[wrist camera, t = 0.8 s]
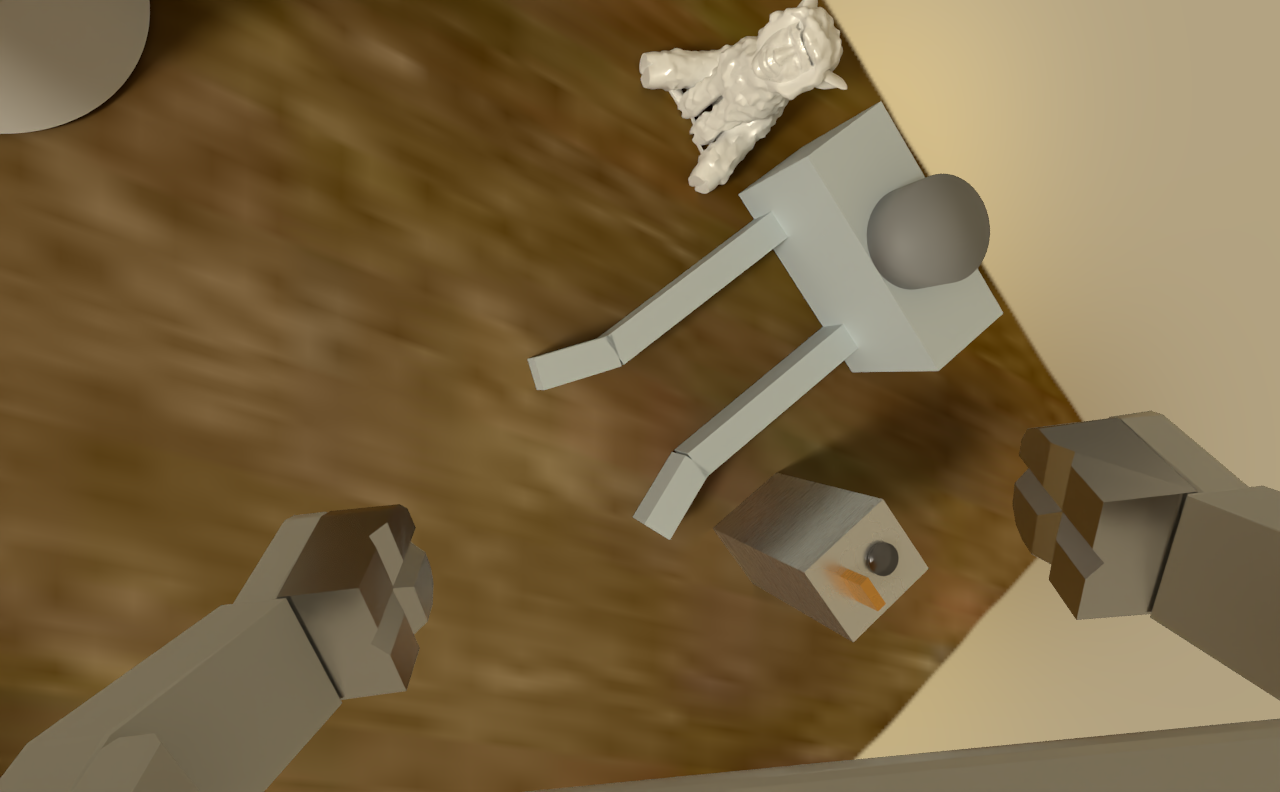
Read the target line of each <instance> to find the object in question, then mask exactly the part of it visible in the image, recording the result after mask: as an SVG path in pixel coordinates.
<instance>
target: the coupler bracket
mask: <svg viewBox="0 0 1280 792" xmlns="http://www.w3.org/2000/svg"><path fill="white" fill-rule="evenodd" d="M738 195H739V196H740V198H741V199H742V201H743V203H744V204H745V206H746V207H747V209H748V210H749V212H750V213H751V215H752V217H753V218H754V220H753V221H751V222H750V223H749V224H747V225H746V226H745V227H743V228H742V229H741V230H740V231H738V232H737V233H736V234H734V235H733V236H732V237H730V238H729V239H728V240H726V241H725V242H724V243H722V244H721V245H720V246H718V247H717V248H716V249H714V250H713V251H712V252H710V253H709V254H708V255H706V256H705V257H704V258H703V259H701V260H700V261H699V262H697V263H696V264H695V265H693V266H692V267H691V268H689V269H688V270H687V271H685V272H684V273H683V274H681V275H680V276H679V277H677V278H676V279H675V280H673V281H672V282H671V283H670V284H668V285H667V286H666V287H664V288H663V289H662V290H660V291H659V292H658V293H656V294H655V295H654V296H652V297H651V298H650V299H648V300H647V301H646V302H644V303H643V304H642V305H640V306H639V307H638V308H636V309H635V310H634V311H633V312H631V313H630V314H629V315H627V316H626V317H625V318H623V319H622V320H621V321H619V322H618V323H617V324H615V325H614V326H613V327H611V328H610V329H609V330H607V331H606V332H605V333H603V334H602V335H601V336H600V337H598V338H597V339H593V340H590V341H586V342H583V343H580V344H576V345H573V346H569V347H566V348H563V349H559V350H556V351H553V352H549V353H546V354H542V355H539V356H536V357H532V358H529V359H528V362H529V366H530V369H531V372H532V376H533V379H534V382H535V385H536V389H537V390H546V389H550V388H553V387H556V386H559V385H563V384H566V383H569V382H572V381H576V380H579V379H582V378H585V377H588V376H592V375H595V374H598V373H601V372H605V371H608V370H611V369H614V368H617V367H621V365H622V364H625V363H627V362H628V361H629V360H630V359H632V358H633V357H634V356H636V355H637V354H638V353H639V352H641V351H642V350H643V349H645V348H646V347H647V346H648V345H650V344H651V343H652V342H654V341H655V340H656V339H657V338H659V337H660V336H661V335H663V334H664V333H665V332H666V331H668V330H669V329H670V328H672V327H673V326H674V325H675V324H677V323H678V322H679V321H681V320H682V319H683V318H685V317H686V316H687V315H688V314H690V313H691V312H692V311H694V310H695V309H696V308H697V307H699V306H700V305H701V304H703V303H704V302H705V301H706V300H708V299H709V298H710V297H712V296H713V295H714V294H715V293H717V292H718V291H719V290H721V289H722V288H723V287H724V286H726V285H727V284H728V283H730V282H731V281H732V280H733V279H735V278H736V277H737V276H739V275H740V274H741V273H743V272H744V271H745V270H746V269H748V268H749V267H750V266H752V265H753V264H754V263H755V262H757V261H758V260H759V259H761V258H762V257H763V256H764V255H766V254H767V253H768V252H770V251H771V250H772V249H774V251H775V252H776V254H777V256H778V257H779V259H780V260H781V262H782V263H783V265H784V267H785V268H786V270H787V271H788V273H789V274H790V276H791V277H792V279H793V281H794V282H795V284H796V285H797V287H798V288H799V290H800V292H801V293H802V295H803V296H804V298H805V299H806V301H807V302H808V304H809V306H810V307H811V309H812V310H813V312H814V313H815V315H816V317H817V318H818V320H819V321H820V323H821V324H822V326H823V327H822V328H821V329H820V330H819V331H817V332H816V333H815V334H814V335H813V336H811V337H810V338H809V339H808V340H806V341H805V342H804V343H803V344H802V345H800V346H799V347H798V348H797V349H796V350H794V351H793V352H792V353H791V354H790V355H788V356H787V357H786V358H785V359H784V360H782V361H781V362H780V363H779V364H777V365H776V366H775V367H774V368H773V369H771V370H770V371H769V372H768V373H767V374H765V375H764V376H763V377H762V378H761V379H759V380H758V381H757V382H756V383H755V384H753V385H752V386H751V387H750V388H748V389H747V390H746V391H745V392H744V393H742V394H741V395H740V396H739V397H738V398H736V399H735V400H734V401H733V402H732V403H730V404H729V405H728V406H727V407H725V408H724V409H723V410H722V411H721V412H719V413H718V414H717V415H716V416H715V417H713V418H712V419H711V420H710V421H709V422H707V423H706V424H705V425H704V426H703V427H701V428H700V429H699V430H698V431H696V432H695V433H694V434H693V435H692V436H690V437H689V438H688V439H687V440H686V441H684V442H683V443H682V444H681V445H680V446H678V447H677V448H676V449H675V452H676V453H674V452H672V453H671V454H670V456H669V458H668V459H667V461H666V463H665V464H664V466H663V468H662V469H661V471H660V473H659V474H658V476H657V478H656V479H655V481H654V482H653V484H652V486H651V487H650V489H649V491H648V492H647V494H646V496H645V497H644V499H643V501H642V502H641V504H640V506H639V507H638V509H637V511H636V512H635V514H634V516H633V518H635V519H636V520H638V521H640V522H641V523H643V524H644V525H646V526H648V527H649V528H651V529H653V530H654V531H656V532H657V533H659V534H661V535H662V536H664V537H666V538H667V539H669V540H670V539H671V537H672V535H673V534H674V532H675V530H676V529H677V527H678V525H679V524H680V522H681V520H682V519H683V517H684V515H685V514H686V512H687V510H688V508H689V507H690V505H691V503H692V502H693V500H694V498H695V497H696V495H697V493H698V492H699V490H700V488H701V487H702V485H703V483H704V481H705V480H706V478H707V476H709V475H710V474H711V473H712V472H713V471H714V470H716V469H717V468H718V467H719V466H720V465H722V464H723V463H724V462H725V461H726V460H727V459H729V458H730V457H731V456H732V455H733V454H734V453H736V452H737V451H738V450H739V449H740V448H742V447H743V446H744V445H745V444H746V443H747V442H749V441H750V440H751V439H752V438H753V437H754V436H756V435H757V434H758V433H759V432H760V431H762V430H763V429H764V428H765V427H766V426H767V425H769V424H770V423H771V422H772V421H773V420H774V419H776V418H777V417H778V416H779V415H780V414H782V413H783V412H784V411H785V410H786V409H787V408H789V407H790V406H791V405H792V404H793V403H794V402H796V401H797V400H798V399H799V398H800V397H802V396H803V395H804V394H805V393H806V392H807V391H809V390H810V389H811V388H812V387H813V386H814V385H816V384H817V383H818V382H819V381H820V380H822V379H823V378H824V377H825V376H826V375H827V374H829V373H830V372H831V371H832V370H833V369H834V368H836V367H837V366H838V365H839V364H840V363H842V362H843V361H844V360H845V362H846V363H847V365H848V367H849V368H850V370H851V371H852V372H898V371H939V370H940V369H941V368H942V367H944V366H945V365H946V364H947V363H948V362H949V361H950V360H951V359H952V358H954V357H955V356H956V355H957V354H958V353H959V352H960V351H961V350H963V349H964V348H965V347H966V346H967V345H968V344H969V343H970V342H972V341H973V340H974V339H975V338H976V337H977V336H978V335H979V334H981V333H982V332H983V331H984V330H985V329H986V328H987V327H988V326H989V325H991V324H992V323H993V322H994V321H995V320H996V319H997V318H998V317H1000V316H1001V315H1002V314H1003V312H1002V310H1001V308H1000V306H999V305H998V303H997V301H996V299H995V298H994V296H993V294H992V293H991V291H990V289H989V287H988V286H987V284H986V282H985V280H984V279H983V277H982V275H981V273H980V272H979V270H978V267H979V265H980V264H981V262H982V261H983V259H984V257H985V254H986V252H987V248H988V244H989V237H990V225H989V218H988V214H987V211H986V208H985V205H984V203H983V201H982V200H981V198H980V196H979V195H978V193H977V192H976V191H975V190H974V188H973V187H972V186H971V185H970V184H968V183H967V182H966V181H964V180H962V179H961V178H959V177H956V176H954V175H949V174H936V175H932V176H929V177H926V178H925V176H924V175H923V173H922V171H921V170H920V168H919V166H918V164H917V163H916V161H915V159H914V157H913V156H912V154H911V152H910V150H909V149H908V147H907V145H906V144H905V142H904V140H903V138H902V137H901V135H900V133H899V131H898V130H897V128H896V126H895V125H894V123H893V121H892V119H891V118H890V116H889V114H888V112H887V111H886V109H885V107H884V105H883V104H882V102H879V103H877V104H875V105H874V106H872V107H870V108H869V109H867V110H865V111H863V112H862V113H860V114H858V115H857V116H855V117H853V118H851V119H850V120H848V121H846V122H844V123H843V124H841V125H839V126H838V127H836V128H834V129H832V130H831V131H829V132H827V133H826V134H824V135H822V136H820V137H819V138H817V139H815V140H814V141H812V142H810V143H808V144H807V145H805V146H803V147H802V148H800V149H799V150H798V151H796V152H795V153H793V154H792V155H791V156H789V157H788V158H787V159H785V160H784V161H783V162H781V163H780V164H779V165H777V166H776V167H775V168H773V169H772V170H771V171H769V172H768V173H766V174H765V175H764V176H762V177H761V178H760V179H758V180H757V181H756V182H754V183H753V184H752V185H750V186H749V187H748V188H746V189H745V190H744V191H742V192H741V193H740V194H738Z"/></svg>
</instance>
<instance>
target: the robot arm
mask: <svg viewBox="0 0 1280 792" xmlns="http://www.w3.org/2000/svg"><path fill="white" fill-rule="evenodd" d="M149 20H150V1H149V0H0V134H13V133H25V132H33V131H39V130H44V129H48V128H52V127H56V126H59V125H62V124H65V123H68V122H70V121H72V120H75V119H77V118H79V117H81V116H83V115H85V114H87V113H89V112H90V111H92V110H94V109H95V108H97V107H98V106H100V105H101V104H102V103H104V102H105V101H106V100H108V99H109V98H110V97H111V96H112V95H113V94H114V93H115V92H116V91H117V90H118V89H119V88H120V87H121V86H122V85H123V84H124V83H125V81H126V80H127V79H128V77H129V76H130V74H131V73H132V72H133V70H134V68H135V66H136V65H137V63H138V61H139V59H140V56H141V54H142V52H143V49H144V46H145V43H146V39H147V35H148V29H149ZM1019 456H1020V458H1021V459H1022V460H1023V461H1024V463H1025V464H1026V465H1027V467H1028V470H1027V471H1026V472H1025V473H1024V474H1023V475H1022V476H1021V477H1020V478H1019V479H1018V480H1017V481H1016V482H1015V485H1014V495H1013V510H1014V516H1015V522H1016V526H1017V528H1018V531H1019V533H1020V536H1021V538H1022V540H1023V542H1024V543H1025V545H1026V546H1027V548H1028V549H1029V551H1030V552H1031V554H1033V555H1034V556H1036V557H1038V558H1040V559H1042V560H1044V561H1046V562H1048V563H1049V564H1051V570H1050V575H1049V581H1050V582H1051V583H1052V585H1053V586H1054V588H1055V589H1056V591H1057V592H1058V594H1059V595H1060V597H1061V598H1062V599H1063V601H1064V602H1065V604H1066V605H1067V607H1068V608H1069V610H1070V611H1071V612H1072V614H1073V615H1074V617H1075V618H1076V620H1081V619H1093V618H1106V617H1117V616H1131V615H1142V614H1151V616H1150V617H1151V618H1152V619H1154V620H1155V621H1157V622H1158V623H1160V624H1162V625H1163V626H1165V627H1166V628H1168V629H1169V630H1171V631H1172V632H1174V633H1175V634H1177V635H1179V636H1180V637H1182V638H1183V639H1185V640H1187V641H1188V642H1189V643H1191V644H1193V645H1194V646H1196V647H1197V648H1199V649H1200V650H1202V651H1203V652H1205V653H1207V654H1208V655H1210V656H1211V657H1213V658H1214V659H1216V660H1218V661H1219V662H1221V663H1222V664H1224V665H1225V666H1227V667H1228V668H1230V669H1231V670H1233V671H1235V672H1236V673H1238V674H1239V675H1241V676H1242V677H1244V678H1245V679H1247V680H1249V681H1250V682H1252V683H1253V684H1255V685H1257V686H1258V687H1260V688H1261V689H1263V690H1264V691H1266V692H1267V693H1269V694H1271V695H1272V696H1274V697H1275V698H1277V699H1278V700H1280V492H1279V491H1277V490H1274V489H1271V488H1268V487H1265V486H1256V487H1248V486H1247V485H1246V484H1245V483H1243V482H1242V481H1241V480H1240V479H1239V478H1237V477H1236V476H1235V475H1234V474H1233V473H1232V472H1230V471H1229V470H1228V469H1227V468H1226V467H1225V466H1223V465H1222V464H1221V463H1220V462H1219V461H1217V460H1216V459H1215V458H1214V457H1213V456H1211V455H1210V454H1209V453H1208V452H1207V451H1206V450H1204V449H1203V448H1202V447H1201V446H1200V445H1198V444H1197V443H1196V442H1195V441H1194V440H1192V439H1191V438H1190V437H1189V436H1188V435H1186V434H1185V433H1184V432H1183V431H1182V430H1181V429H1179V428H1178V427H1177V426H1176V425H1175V424H1173V423H1172V422H1171V421H1170V420H1169V419H1168V418H1166V417H1165V416H1164V415H1162V414H1160V413H1156V412H1153V411H1147V412H1140V413H1133V414H1126V415H1120V416H1113V417H1109V418H1108V419H1100V420H1092V421H1084V422H1077V423H1069V424H1061V425H1053V426H1045V427H1037V428H1029V429H1027V430H1026V432H1025V434H1024V436H1023V438H1022V440H1021V446H1020V452H1019ZM415 528H416V527H415V525H414V523H413V520H412V518H411V516H410V513H409V511H408V509H407V508H405V507H403V506H402V505H400V504H398V505H388V506H377V507H367V508H357V509H347V510H337V511H330V512H320V513H311V514H303V515H294V516H292V517H290V518H288V519H286V520H285V521H284V522H283V524H282V525H281V527H280V529H279V530H278V532H277V534H276V535H275V537H274V538H273V540H272V542H271V543H270V545H269V546H268V548H267V550H266V551H265V553H264V555H263V556H262V558H261V559H260V561H259V563H258V564H257V566H256V568H255V569H254V571H253V572H252V574H251V576H250V577H249V579H248V580H247V582H246V584H245V585H244V587H243V589H242V590H241V592H240V593H239V595H238V597H237V598H236V600H235V601H234V603H233V604H229V605H221V606H220V607H218V608H217V609H215V610H214V611H213V612H211V613H210V614H208V615H207V616H206V617H204V618H203V619H201V620H200V621H199V622H197V623H196V624H194V625H193V626H192V627H190V628H189V629H187V630H186V631H185V632H183V633H182V634H180V635H179V636H178V637H176V638H175V639H173V640H172V641H170V642H169V643H168V644H166V645H165V646H163V647H162V648H161V649H159V650H158V651H156V652H155V653H154V654H152V655H151V656H149V657H148V658H147V659H145V660H144V661H142V662H141V663H140V664H138V665H137V666H135V667H134V668H133V669H131V670H130V671H128V672H127V673H125V674H124V675H123V676H121V677H120V678H118V679H117V680H116V681H114V682H113V683H111V684H110V685H109V686H107V687H106V688H104V689H103V690H102V691H100V692H99V693H97V694H96V695H95V696H93V697H92V698H90V699H89V700H87V701H86V702H85V703H83V704H82V705H80V706H79V707H78V708H76V709H75V710H73V711H72V712H71V713H69V714H68V715H66V716H65V717H64V718H62V719H61V720H59V721H58V722H57V723H55V724H54V725H52V726H51V727H50V728H48V729H47V730H45V731H44V732H42V733H41V734H40V735H38V736H37V737H35V738H34V739H33V740H31V741H30V742H28V743H27V744H26V746H25V747H24V748H23V749H22V751H21V752H20V753H19V755H18V756H17V757H16V759H15V760H14V761H13V762H12V764H11V765H10V766H9V768H8V769H7V770H6V772H5V773H4V774H3V775H2V777H1V778H0V792H264V791H265V790H266V789H267V788H268V786H269V785H270V784H271V783H272V782H273V781H274V780H275V779H276V777H277V776H278V775H279V774H280V773H281V772H282V771H283V769H284V768H285V767H286V766H287V765H288V764H289V763H290V762H291V760H292V759H293V758H294V757H295V756H296V755H297V754H298V753H299V751H300V750H301V749H302V748H303V747H304V746H305V745H306V743H307V742H308V741H309V740H310V739H311V738H312V737H313V736H314V734H315V733H316V732H317V731H318V730H319V729H320V728H321V726H322V725H323V724H324V723H325V722H326V721H327V720H328V719H329V717H330V716H331V715H332V714H333V713H334V712H335V711H336V710H337V708H338V707H339V706H340V705H341V704H342V701H341V700H342V699H350V698H357V697H365V696H372V695H379V694H387V693H394V692H402V691H406V690H407V687H408V684H409V681H410V677H411V674H412V671H413V668H414V664H415V661H416V658H417V655H418V652H419V646H418V644H417V641H416V639H415V636H414V634H415V633H416V632H417V631H418V630H419V629H420V628H421V627H422V626H423V625H424V624H425V623H426V622H427V621H428V618H429V615H430V611H431V607H432V602H433V578H432V573H431V567H430V564H429V561H428V559H427V556H426V553H425V552H424V551H422V550H421V549H420V548H418V547H417V546H415V545H414V544H413V543H411V539H412V536H413V533H414V531H415ZM527 792H1280V719H1271V720H1261V721H1251V722H1240V723H1230V724H1220V725H1210V726H1199V727H1188V728H1178V729H1168V730H1157V731H1147V732H1137V733H1126V734H1116V735H1106V736H1097V737H1096V736H1095V737H1086V738H1075V739H1064V740H1054V741H1045V742H1044V741H1043V742H1033V743H1023V744H1012V745H1003V746H992V747H982V748H971V749H961V750H951V751H941V752H930V753H919V754H909V755H899V756H888V757H878V758H868V759H857V760H847V761H836V762H826V763H816V764H805V765H795V766H785V767H775V768H764V769H754V770H744V771H733V772H723V773H713V774H702V775H692V776H682V777H671V778H661V779H651V780H640V781H630V782H620V783H609V784H599V785H589V786H578V787H568V788H558V789H547V790H537V791H527Z"/></svg>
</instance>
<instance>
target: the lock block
mask: <svg viewBox="0 0 1280 792" xmlns="http://www.w3.org/2000/svg"><path fill="white" fill-rule="evenodd" d="M713 529H714V531H715V532H716V534H717V535H718V536H719V538H720V539H721V541H722V542H723V543H724V545H725V546H726V547H727V549H728V550H729V552H730V553H731V554H732V556H733V557H734V558H735V560H736V561H737V563H738V564H739V565H740V567H741V568H742V569H743V571H744V572H745V574H746V575H747V576H748V578H749V579H750V580H751V582H752V583H753V584H755V585H756V586H758V587H760V588H761V589H763V590H765V591H767V592H768V593H770V594H772V595H773V596H775V597H777V598H778V599H780V600H782V601H784V602H785V603H787V604H789V605H790V606H792V607H794V608H796V609H797V610H799V611H801V612H802V613H804V614H806V615H808V616H809V617H811V618H813V619H814V620H816V621H818V622H819V623H821V624H823V625H825V626H826V627H828V628H830V629H831V630H833V631H835V632H837V633H838V634H840V635H842V636H843V637H845V638H847V639H849V640H850V641H852V642H854V641H855V640H856V639H857V638H858V637H859V636H860V635H861V634H862V633H863V632H864V631H865V630H866V629H867V628H868V627H869V626H870V625H872V624H873V623H874V622H875V621H876V620H877V619H878V618H879V617H880V616H881V615H882V614H883V613H884V612H885V611H886V610H887V609H888V608H889V607H890V606H891V605H892V604H893V603H894V602H895V601H896V600H897V599H898V598H899V597H900V596H901V595H902V594H903V593H904V592H905V591H906V590H907V589H908V588H909V587H910V586H911V585H912V584H913V583H914V582H915V581H916V580H917V579H918V578H919V577H920V576H921V575H923V574H924V573H925V572H926V571H927V570H928V569H929V568H928V567H927V565H926V564H925V562H924V561H923V559H922V558H921V556H920V555H919V553H918V552H917V550H916V549H915V547H914V546H913V544H912V542H911V541H910V539H909V538H908V536H907V535H906V533H905V532H904V530H903V529H902V527H901V526H900V524H899V523H898V521H897V520H896V518H895V517H894V515H893V514H892V512H891V511H890V509H889V508H888V506H887V505H886V503H885V501H884V500H883V499H880V498H876V497H872V496H868V495H864V494H860V493H856V492H852V491H848V490H844V489H840V488H836V487H832V486H828V485H824V484H820V483H816V482H812V481H808V480H804V479H800V478H796V477H792V476H788V475H784V474H780V473H775V474H774V475H773V476H772V477H771V478H770V479H769V480H767V481H766V482H765V483H764V484H763V485H762V486H761V487H759V488H758V489H757V490H756V491H755V492H754V493H752V494H751V495H750V496H749V497H748V498H747V499H746V500H744V501H743V502H742V503H741V504H740V505H739V506H738V507H736V508H735V509H734V510H733V511H732V512H731V513H730V514H728V515H727V516H726V517H725V518H724V519H723V520H722V521H720V522H719V523H718V524H717V525H716V526H715V527H714V528H713Z"/></svg>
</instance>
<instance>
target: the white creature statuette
mask: <svg viewBox="0 0 1280 792" xmlns="http://www.w3.org/2000/svg"><path fill="white" fill-rule="evenodd" d="M817 4H818V0H802V1H801V3H800V4H799V5H798V6H797V8H786V10H785V11H775V12H773V13H772V14H771V15H770V20H769V23H767V24H766V25H765V27H764V28H761V29H760V30H759V31H758V36H757V37H755V36H752V37H751V36H745V37H744V38H742V39H741V40H740V41H739V42H738V43H736V44H734V45H733V46H730V45H725V46H724V47H723V48H721V49H719V50H711V51H703V50H701V51H699V52H698V51H688V50H682V49H680V48H674V49H672V50H671V51H665V50H664V51H661V52H655V51H653V52H648V53H643V54H642V56H641V59H640V67H639V68H640V73H641V74H642V77H641V79H640V80H641V82H642V85H643V87H644V88H648V89H653V90H654V89H659V88H660V89H664V90H665V91H669V93H670V94H671V96H672V97H673V99H674V101H675V102H676V104H677V105H678V109H679V110H680V111H682V117H683V118H686V119H689V118H691V121H692V123H693V126H692V128H691V130H690V134H694V137H693V139H692V141H693V142H694V143H695V144H696V145H697V147H698V149H699V151H700V153H701V155H700V156H699V158H698V164H697V165H696V167H695V168H694V169H693V171H692V173H691V175H690V177H689V179H688V181H689V185H690V186H696V187H695V191H697V192H700V193H703V194H706V193H709V192H710V191H712V190H714V189H715V188H716V187H717V186H718V185H719V184H721V185H723V184H725V183H726V182H727V181H728V179H729V176H730V175H731V174H732V173H733V171H734V169H735V167H736V166H737V165H738V164H739V162H740V161H742V160H744V158H745V156H746V154H747V153H748V152H749V151H750V150H752V149H753V147H754V145H755V142H756V141H758V140H759V139H761V138H764V137H765V136H766V134H767V133H768V132H769V131H770V128H771V127H772V126H773V125H775V124H776V120H777V118H779V117H781V115H782V113H783V110H784V108H785V106H786V105H787V104H788V102H789V100H793V99H794V98H795V97H796V96H797V95H799V94H801V93H803V92H806V91H810V90H812V89H813V88H814V87H816V88H819V89H832V88H839V89H844V90H846V89H847V85H846V83H845V81H844V80H843V79H842V78H841V77H840V76H838V75H836V74H835V73H833V72H832V71H833V70H834V69H835V68H836V67H837V65H838V64H839V61H840V57H841V55H842V53H843V48H842V46H841V42H842V41H841V39H840V38H839V37H840V31H839V30H838V29H836V28H835V27H834V21H833V18H832V17H831V16H830V15H829V14H828V13H827V12H826V11H825V9H823V8H822V7H817ZM683 88H686V89H689V90H687V91H686V92H685V93H683V92H682V90H681V89H683ZM711 104H712V106H713V108H712V111H710V112H706V111H705V112H703V113H702V111H703V110H704V109H706V108H707V107H708V106H710V105H711ZM701 113H702V116H699V117H698V119H697V120H696V121H695V118H694V117H697V116H698V115H700V114H701ZM715 139H716V141H715V142H713V141H714V140H715ZM712 142H713V143H712ZM706 144H709V146H708V147H707V148H706V149H705V150H704V151H703V149H702V147H701V146H702V145H706Z"/></svg>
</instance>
